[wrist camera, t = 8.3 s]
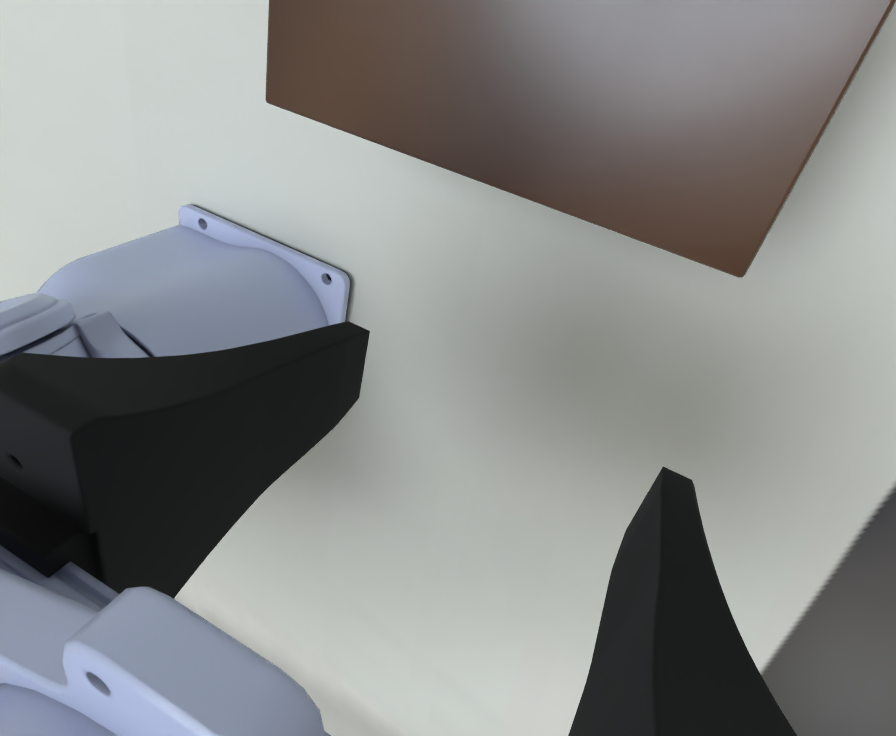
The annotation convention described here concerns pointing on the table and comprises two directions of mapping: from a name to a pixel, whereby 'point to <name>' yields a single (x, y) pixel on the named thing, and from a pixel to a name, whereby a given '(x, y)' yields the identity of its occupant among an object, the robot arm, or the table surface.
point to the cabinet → (589, 100)
